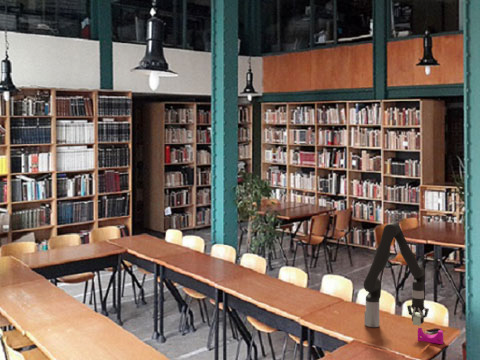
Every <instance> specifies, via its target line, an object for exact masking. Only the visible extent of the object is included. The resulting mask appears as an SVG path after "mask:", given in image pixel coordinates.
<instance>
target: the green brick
mask: <svg viewBox="0 0 480 360" xmlns="http://www.w3.org/2000/svg"><path fill="white" fill-rule="evenodd" d="M412 325H414V326H421V325H422V324H421V316H420V314H419V313H415V315H414V316H413V321H412Z"/></svg>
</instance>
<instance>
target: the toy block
mask: <svg viewBox="0 0 480 360" xmlns="http://www.w3.org/2000/svg"><path fill="white" fill-rule="evenodd" d="M417 341H418V342H419V341H420V342H425V343H426V342H427V343H431V344H440V345H443V343H444V330H438V331H437V333H435V334H428V333H425V332H424V330H423V328H422V327H418V328H417Z"/></svg>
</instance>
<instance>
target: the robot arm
mask: <svg viewBox="0 0 480 360" xmlns="http://www.w3.org/2000/svg"><path fill="white" fill-rule="evenodd" d="M380 238H381V239H380V242H379V244H378V246H377V249H376V251H375V254H374V257H373V260H372V263H371V265H370V268H369V270H368V273H367V275H366V277H365V279H364V281H363V289H364V290H365V291H366V292H367V295H365V310H364V326H366V327H368V328H378V327H379V328H380V298H381V296H382V282H381V280H380V279H379V275H380V274H381V273H382V272H383V270H384V269H385V268H386V266H387V265H388V262H389V259H390V257H391V256H390V255H391V247H392V246H391V245H392V243H393V240H395V241H396V242H397V245H398V249H399V252H400V255H401V256H402V258H403V260H404V261H405V263H406V265H407V267H408V270H409V272H410V274H411V276H412V277H413V281H412V284H411V285H412V288H411V304H409V305H407V311H408V315H409V316H411V321H412V322H413V316H414V315H415V314H420V316H421V325H423V323H424V321H425V318H427V317H428V314H429V311H430V310H429V308H427V307H425V291H424V290H425V289H424V287H425V285H424V282H425V275H426V270H425V268H424V267H423V266H422V265H419V263H418V260H417V257H416V255H415V254H414V252H413V250H412V249H411V247H410V246H409V244H408V242H407V239H406V238H405V235H404V233H403V230H402V227H401V226H400V225H399V224H398V223H397V222H395V221H394V222H393V221H391V222H390V223H387V224H385V226H384V227H383V230H382V235H381V237H380Z"/></svg>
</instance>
